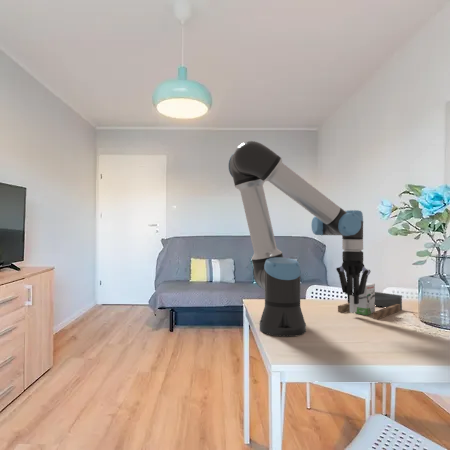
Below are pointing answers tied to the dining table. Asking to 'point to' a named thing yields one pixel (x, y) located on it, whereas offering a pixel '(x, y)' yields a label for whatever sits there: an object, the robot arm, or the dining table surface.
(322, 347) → the dining table surface
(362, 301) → the ink box
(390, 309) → the guide channel
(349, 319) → the dining table surface
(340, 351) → the dining table surface
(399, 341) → the dining table surface
